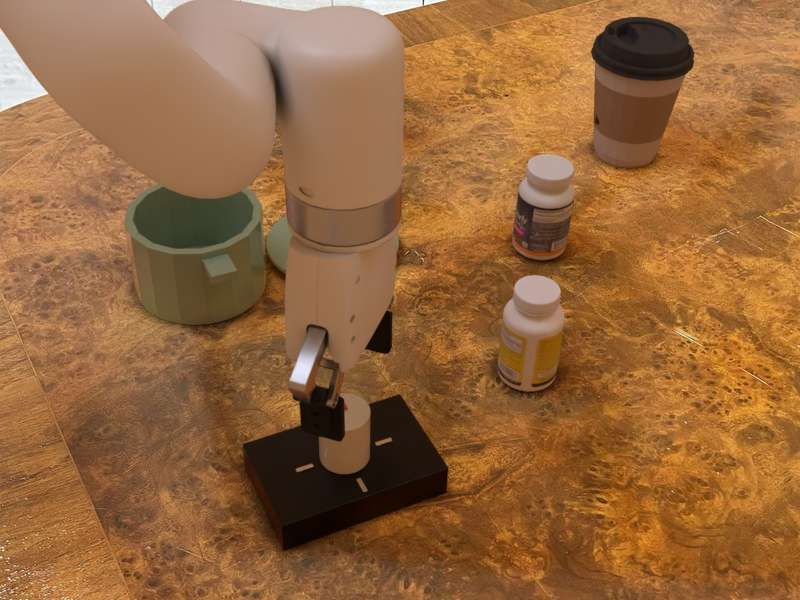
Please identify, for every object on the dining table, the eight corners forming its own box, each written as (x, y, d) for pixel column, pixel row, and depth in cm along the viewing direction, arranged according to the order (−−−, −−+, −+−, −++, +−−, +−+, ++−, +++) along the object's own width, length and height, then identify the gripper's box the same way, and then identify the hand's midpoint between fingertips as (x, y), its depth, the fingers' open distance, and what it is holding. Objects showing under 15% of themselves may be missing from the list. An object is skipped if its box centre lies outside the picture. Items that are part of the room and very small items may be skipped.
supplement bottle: (557, 356, 99) (571, 274, 92) (553, 397, 95) (568, 314, 88) (499, 348, 99) (509, 266, 93) (493, 389, 95) (503, 305, 89)
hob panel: (283, 551, 81) (281, 524, 79) (244, 468, 87) (242, 442, 85) (446, 492, 86) (449, 466, 84) (399, 418, 92) (400, 392, 90)
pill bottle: (507, 231, 114) (516, 151, 107) (559, 229, 114) (572, 149, 108) (517, 263, 109) (527, 182, 103) (571, 261, 110) (585, 181, 103)
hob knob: (378, 465, 84) (379, 418, 81) (330, 481, 83) (330, 434, 79) (357, 430, 87) (357, 384, 83) (311, 445, 85) (310, 398, 82)
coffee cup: (577, 122, 131) (595, 7, 122) (671, 132, 130) (696, 17, 121) (574, 172, 123) (593, 53, 113) (674, 183, 122) (702, 63, 112)
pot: (164, 357, 97) (153, 285, 92) (116, 247, 109) (103, 178, 104) (294, 321, 101) (291, 250, 96) (233, 219, 114) (227, 151, 108)
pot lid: (295, 305, 103) (292, 246, 99) (248, 228, 113) (244, 172, 108) (420, 270, 108) (423, 213, 103) (366, 200, 117) (366, 144, 113)
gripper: (340, 125, 76) (345, 307, 87) (231, 265, 64) (252, 457, 75) (440, 145, 74) (432, 329, 85) (348, 294, 62) (352, 486, 73)
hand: (348, 389), depth 80 cm, fingers open, 9 cm apart
